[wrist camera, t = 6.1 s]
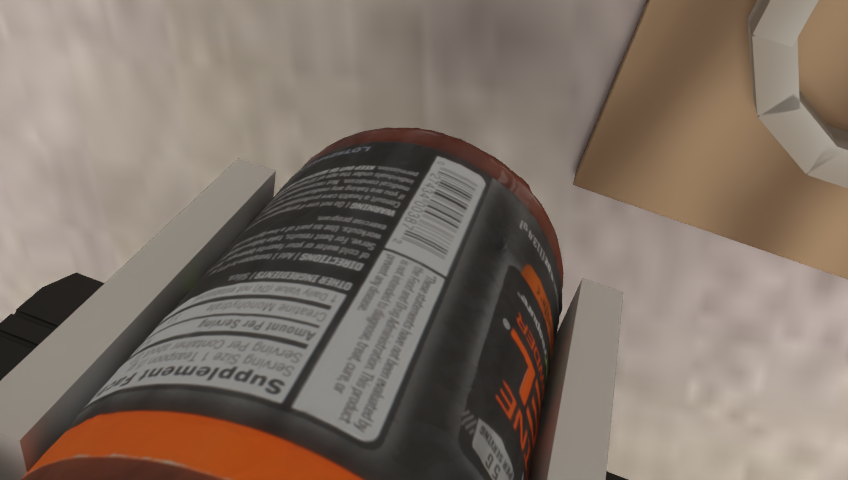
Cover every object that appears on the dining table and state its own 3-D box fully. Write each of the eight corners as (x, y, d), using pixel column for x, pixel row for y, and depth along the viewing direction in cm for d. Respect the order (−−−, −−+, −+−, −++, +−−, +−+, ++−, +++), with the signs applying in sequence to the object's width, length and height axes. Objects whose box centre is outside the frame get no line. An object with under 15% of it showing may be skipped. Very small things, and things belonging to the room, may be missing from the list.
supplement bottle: (568, 371, 15) (431, 1237, 6) (317, 340, 17) (-70, 993, 8) (573, 115, 12) (309, 1151, 3) (263, 108, 14) (-487, 773, 5)
